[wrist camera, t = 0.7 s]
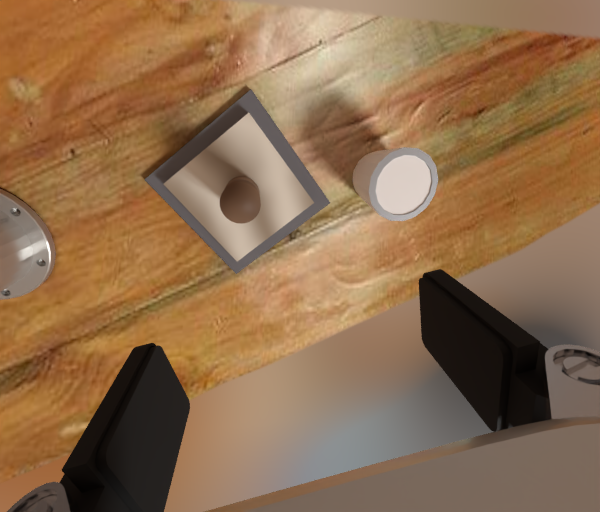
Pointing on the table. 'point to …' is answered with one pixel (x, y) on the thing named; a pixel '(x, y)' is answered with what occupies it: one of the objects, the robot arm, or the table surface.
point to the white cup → (396, 182)
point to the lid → (240, 189)
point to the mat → (205, 139)
